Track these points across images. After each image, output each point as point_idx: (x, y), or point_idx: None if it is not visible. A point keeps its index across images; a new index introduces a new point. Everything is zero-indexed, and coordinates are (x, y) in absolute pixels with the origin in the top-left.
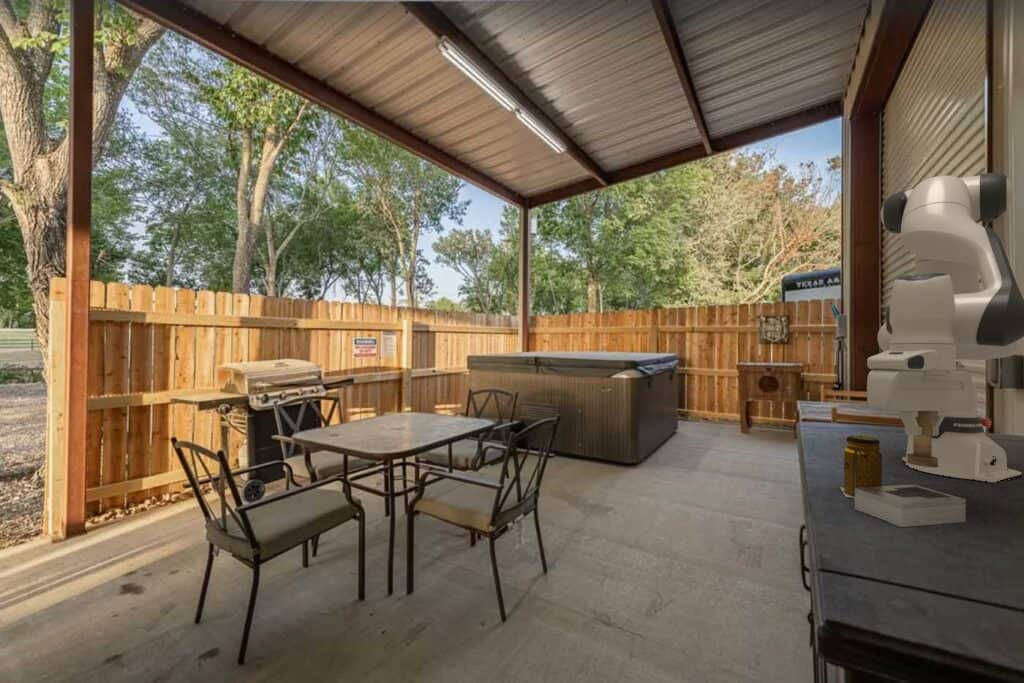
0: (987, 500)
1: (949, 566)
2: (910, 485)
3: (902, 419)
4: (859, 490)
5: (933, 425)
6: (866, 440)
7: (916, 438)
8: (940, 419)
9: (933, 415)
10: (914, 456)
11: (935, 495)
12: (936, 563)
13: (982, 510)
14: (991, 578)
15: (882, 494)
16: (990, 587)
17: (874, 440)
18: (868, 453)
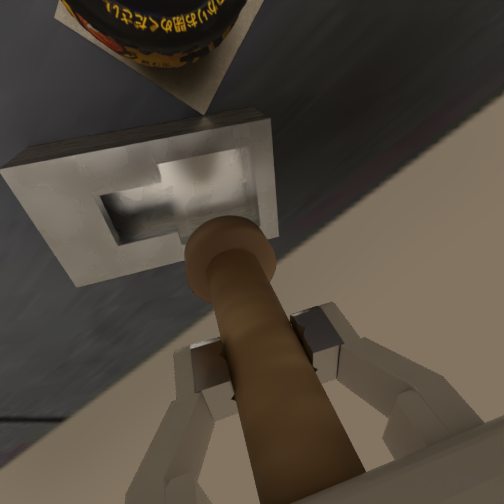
0: (479, 68)
1: (63, 366)
2: (244, 131)
3: (148, 457)
4: (11, 184)
5: (341, 373)
6: (106, 28)
7: (220, 333)
8: (385, 412)
9: (390, 427)
10: (191, 283)
11: (254, 190)
12: (48, 363)
13: (377, 142)
14: (98, 378)
15: (69, 227)
16: (77, 395)
17: (177, 40)
18: (124, 48)
